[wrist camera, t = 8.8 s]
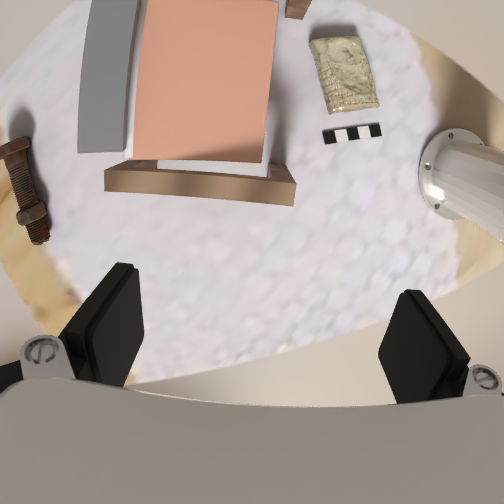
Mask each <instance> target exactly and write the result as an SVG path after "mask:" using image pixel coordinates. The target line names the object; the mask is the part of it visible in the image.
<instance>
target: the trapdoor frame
mask: <svg viewBox="0 0 504 504" xmlns="http://www.w3.org/2000/svg"><path fill="white" fill-rule="evenodd" d="M311 1H312V0H287V3H286V11H285V18H293V19H300V20H302V19H303V17H304V15H305V13H306V11H307V9H308V7H309V5H310V3H311ZM104 185H105V191H108V192H128V193H145V194H161V195H175V196H189V197H201V198H213V199H225V200H235V201H246V202H256V203H266V204H275V205H284V206H293V205H294V198H295V191H296V182H295V181H294V179H293V177H292V175H291V174H290V172H289V170H288V168H287V167H286V165H279V164H270V163H269V165H268V173H267V177H258V176H248V175H238V174H226V173H214V172H201V171H186V170H169V169H157V160H127V161H125V162H122V163H120V164H118V165H115V166H113V167H110V168H108V169H106V170H104Z"/></svg>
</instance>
